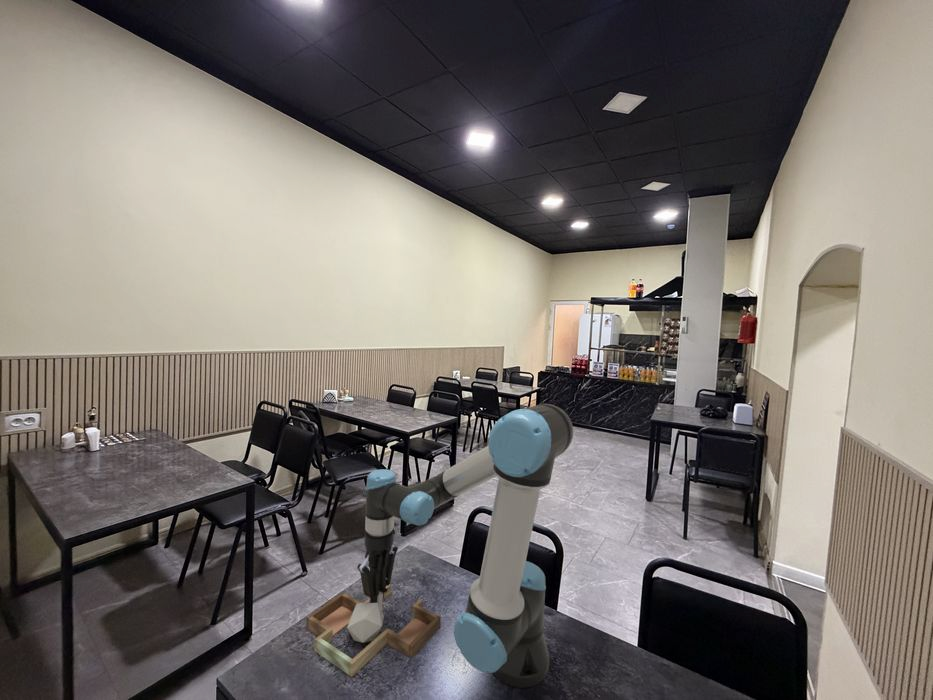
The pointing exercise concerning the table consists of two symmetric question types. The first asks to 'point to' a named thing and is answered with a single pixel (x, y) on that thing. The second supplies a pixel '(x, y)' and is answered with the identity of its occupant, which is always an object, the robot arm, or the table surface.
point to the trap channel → (405, 641)
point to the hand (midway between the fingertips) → (376, 616)
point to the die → (365, 622)
